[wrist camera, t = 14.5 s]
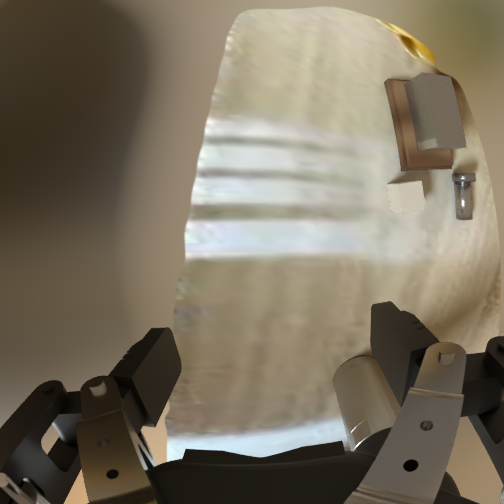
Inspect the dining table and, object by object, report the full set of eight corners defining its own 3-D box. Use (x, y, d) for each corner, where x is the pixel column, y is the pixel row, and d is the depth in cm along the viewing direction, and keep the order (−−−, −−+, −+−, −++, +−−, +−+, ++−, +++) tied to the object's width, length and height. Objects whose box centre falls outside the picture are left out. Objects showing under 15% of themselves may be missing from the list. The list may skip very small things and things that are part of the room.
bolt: (468, 216, 37) (482, 219, 33) (450, 218, 37) (464, 222, 33) (465, 173, 35) (479, 173, 31) (447, 173, 36) (461, 173, 32)
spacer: (413, 206, 38) (425, 209, 34) (390, 210, 38) (402, 213, 34) (409, 180, 37) (421, 180, 33) (386, 184, 37) (397, 184, 33)
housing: (430, 87, 31) (450, 76, 25) (444, 150, 33) (466, 147, 27) (403, 85, 31) (421, 72, 25) (417, 150, 33) (438, 146, 27)
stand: (447, 168, 36) (455, 168, 33) (401, 170, 37) (408, 170, 34) (430, 85, 33) (438, 81, 30) (383, 82, 34) (389, 77, 31)
